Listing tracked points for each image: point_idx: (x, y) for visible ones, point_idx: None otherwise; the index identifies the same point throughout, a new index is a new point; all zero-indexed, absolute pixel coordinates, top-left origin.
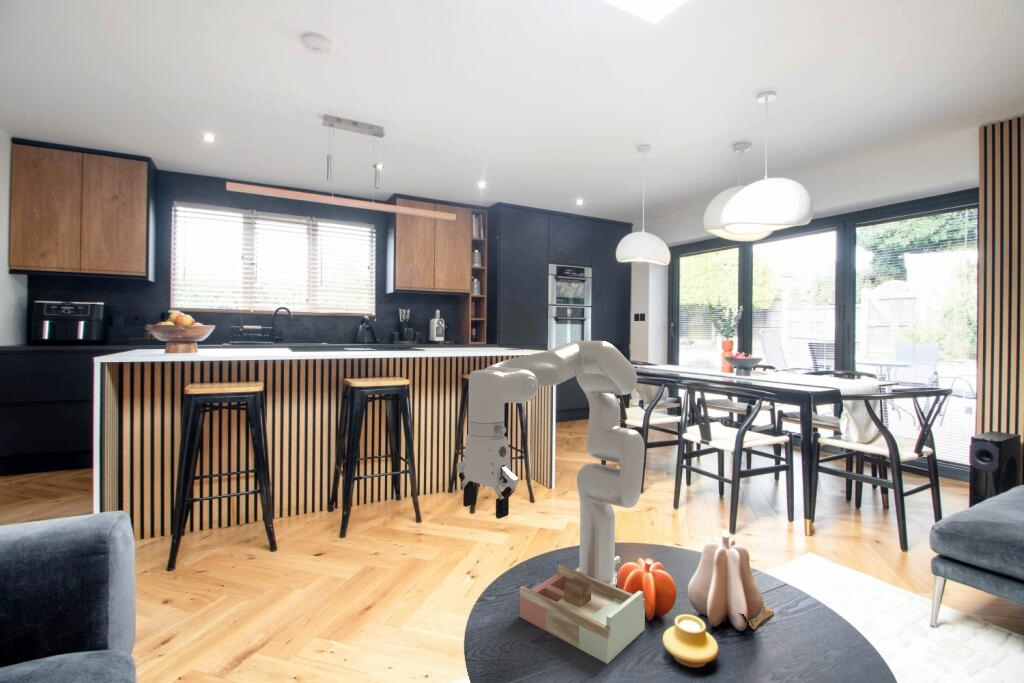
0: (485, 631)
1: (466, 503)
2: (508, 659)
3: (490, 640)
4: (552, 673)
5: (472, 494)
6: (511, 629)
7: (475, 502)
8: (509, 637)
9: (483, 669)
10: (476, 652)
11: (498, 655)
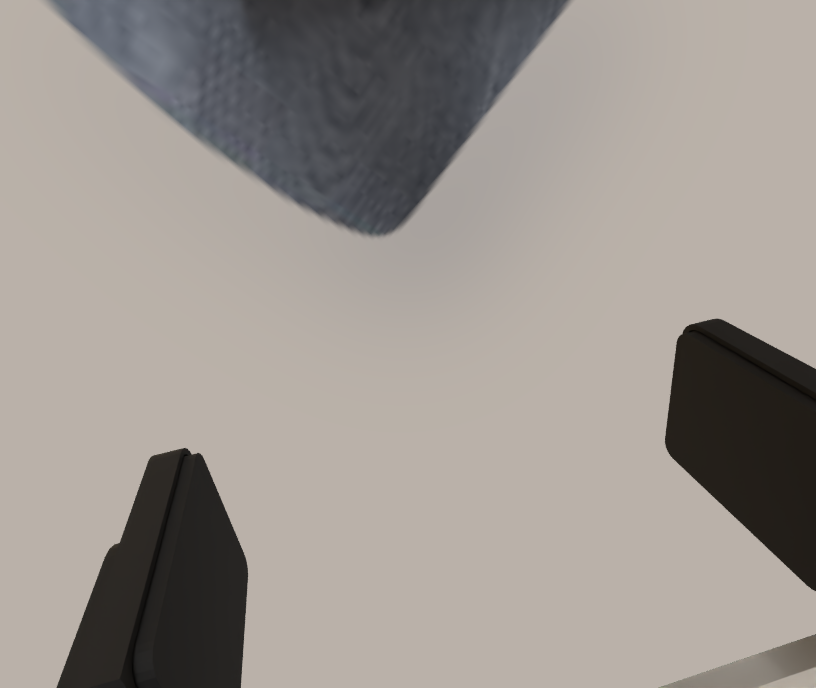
0: (229, 111)
1: (246, 590)
2: (392, 138)
3: (284, 128)
4: (514, 70)
5: (202, 602)
6: (269, 18)
7: (198, 462)
8: (305, 60)
9: (383, 222)
10: (311, 200)
11: (360, 152)
